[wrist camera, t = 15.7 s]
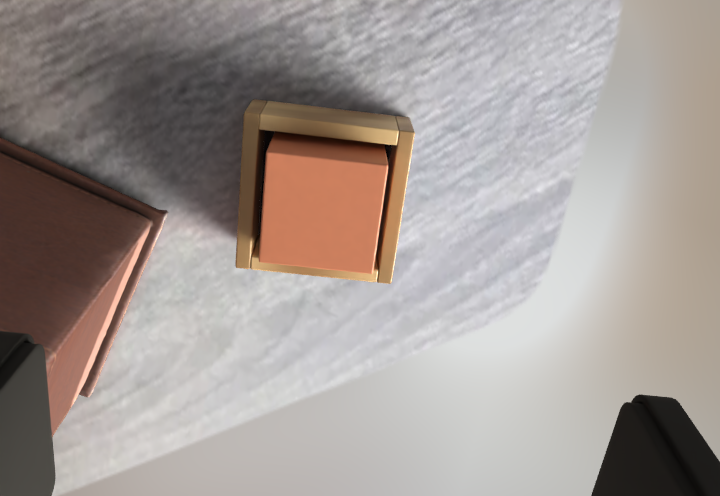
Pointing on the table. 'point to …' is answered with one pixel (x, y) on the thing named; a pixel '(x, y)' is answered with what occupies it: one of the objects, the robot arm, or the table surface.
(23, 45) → the table surface
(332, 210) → the orange cube
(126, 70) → the table surface
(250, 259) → the tan wooden square frame
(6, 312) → the desk organizer
